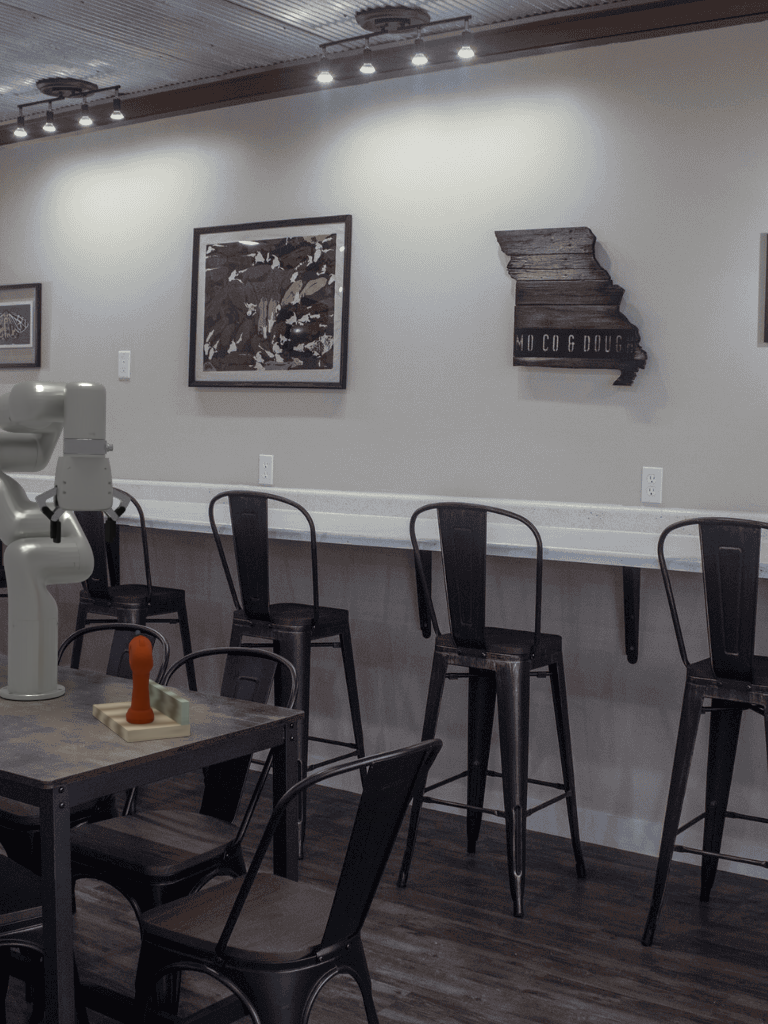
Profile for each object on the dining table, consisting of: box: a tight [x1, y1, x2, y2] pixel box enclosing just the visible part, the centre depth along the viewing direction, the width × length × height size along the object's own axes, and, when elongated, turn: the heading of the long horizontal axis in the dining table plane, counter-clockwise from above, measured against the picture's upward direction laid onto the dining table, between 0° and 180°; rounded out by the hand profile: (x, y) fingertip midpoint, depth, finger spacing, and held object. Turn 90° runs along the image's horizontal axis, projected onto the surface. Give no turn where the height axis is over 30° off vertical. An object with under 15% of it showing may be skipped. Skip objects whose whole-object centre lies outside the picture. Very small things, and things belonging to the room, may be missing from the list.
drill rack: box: [92, 678, 191, 743], centre depth 197 cm, size 22×11×6 cm, turn 30°
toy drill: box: [126, 629, 154, 724], centre depth 198 cm, size 5×19×15 cm, turn 15°
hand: (83, 542), depth 202 cm, fingers open, 9 cm apart
